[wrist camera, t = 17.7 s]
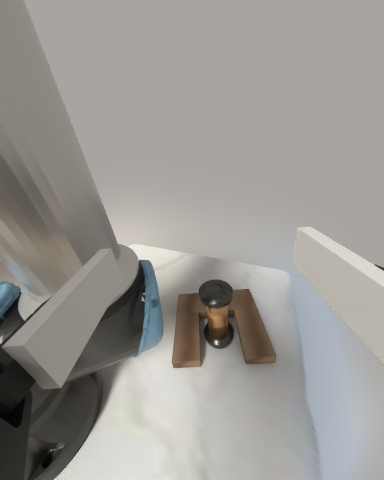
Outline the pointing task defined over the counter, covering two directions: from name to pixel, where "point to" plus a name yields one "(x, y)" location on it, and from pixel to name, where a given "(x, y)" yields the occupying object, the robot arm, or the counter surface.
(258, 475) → the counter surface
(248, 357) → the notched board
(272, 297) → the counter surface
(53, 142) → the robot arm
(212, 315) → the bobbin
